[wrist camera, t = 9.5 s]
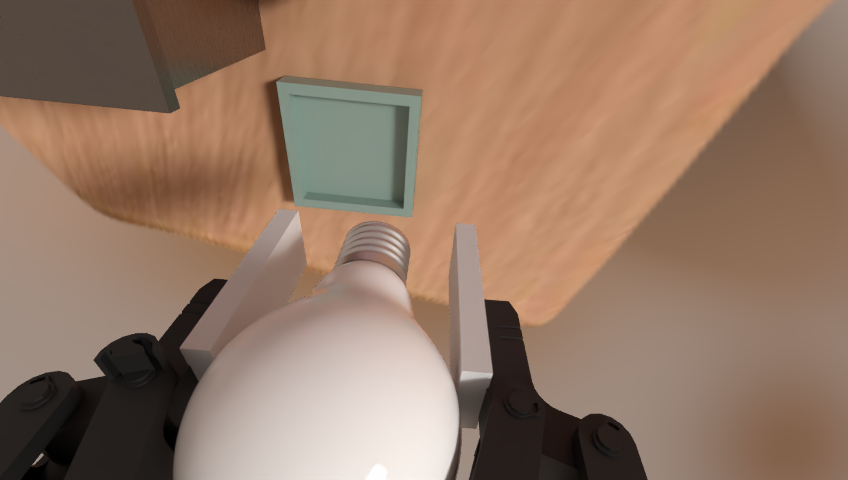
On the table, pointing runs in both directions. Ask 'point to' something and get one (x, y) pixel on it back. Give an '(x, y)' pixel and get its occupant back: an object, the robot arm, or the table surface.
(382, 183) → the tray
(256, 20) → the grey lidded bin
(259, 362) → the lightbulb
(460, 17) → the table surface
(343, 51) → the table surface
